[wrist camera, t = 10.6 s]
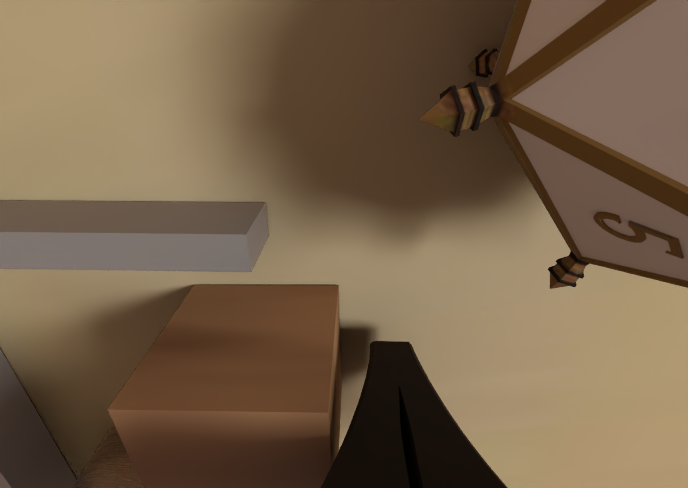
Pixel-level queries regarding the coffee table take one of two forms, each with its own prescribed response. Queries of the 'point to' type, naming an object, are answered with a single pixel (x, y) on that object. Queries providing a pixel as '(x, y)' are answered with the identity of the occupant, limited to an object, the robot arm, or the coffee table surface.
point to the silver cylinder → (109, 466)
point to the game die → (594, 127)
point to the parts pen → (107, 254)
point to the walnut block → (238, 391)
